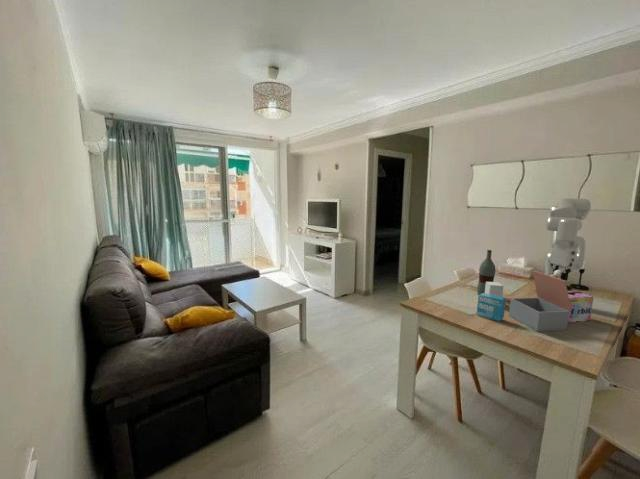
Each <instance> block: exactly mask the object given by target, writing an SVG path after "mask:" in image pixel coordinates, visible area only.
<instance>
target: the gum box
mask: <svg viewBox="0 0 640 479" xmlns="http://www.w3.org/2000/svg"><path fill="white" fill-rule="evenodd" d="M568 296H569V301H570V307H571V311H570V312H569V318H568V323H576V321H580V322H589V321H588V320H590V321H591V317H592V310H593V303H594V296H593V295H591V296H590V295H588V294H584V293H583V292H582V291H570V292H569V291H568ZM549 303H550V302H549ZM556 306H557V305H556ZM565 310H566V309H565Z"/></svg>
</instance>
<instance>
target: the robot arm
mask: <svg viewBox="0 0 640 479" xmlns="http://www.w3.org/2000/svg"><path fill="white" fill-rule="evenodd" d="M591 208H592V204H591V201H590V200H589V199H587V198H572V197H571V198H567V197H565V198H562V199H559V200H558V202H557V203H556V205H553V206H551V207H550V208H549V210H548V213H547V216H546V218H545V229H546V230H547V231H550V232H551V235H550V241H549V242H550V244H549V245H550V248H551V249H552V250H551V251H549V252H547V253H546V254H545V256H544V257H545V258H544V260H545V268H544V270H545V271H544V274H546V275H549V276H550V275H553V274H554V271H556V270H561V271H563V273H562V274H561V278H559V279H562V280H565V281H566V282H567V281H568V278H569V274H570V273H571V272H572V271H580V270H581V269H583V267H584V261H585V252H586V251H585V250H586V240H585V238H584V237H582V236H579V235H578V232H579V231H580V230H582V227H583V222H582V221H584V220H585V219H586V218H587V217H588V215H589V213H590V211H591ZM556 278H557V277H556ZM542 300H543V299H542Z"/></svg>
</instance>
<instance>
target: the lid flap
mask: <svg viewBox="0 0 640 479" xmlns="http://www.w3.org/2000/svg"><path fill="white" fill-rule="evenodd" d="M561 270H562V269H561ZM561 270H556V271H554V274H553V275H550V276H549V275H546V274H545V273H542V272H540V271H537V270H534V269H532V270H531V271H532V277H533V280H534V281H533V282H534V285H535V290H536V297H537V298H540V299H543V300H545V301H547V302H550V303H552V304H554V305H557V306H559V307H561V308H563V309H566V310H568V311H571V307H570V301H569V296H568V292H569V291H568V287H567V286H568V284H567V281H565V280H562V279H559V278H561V274H562V273H563V270H562V271H561ZM556 277H557V278H556Z"/></svg>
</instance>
